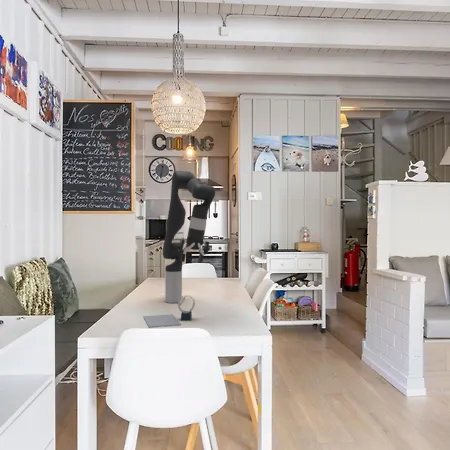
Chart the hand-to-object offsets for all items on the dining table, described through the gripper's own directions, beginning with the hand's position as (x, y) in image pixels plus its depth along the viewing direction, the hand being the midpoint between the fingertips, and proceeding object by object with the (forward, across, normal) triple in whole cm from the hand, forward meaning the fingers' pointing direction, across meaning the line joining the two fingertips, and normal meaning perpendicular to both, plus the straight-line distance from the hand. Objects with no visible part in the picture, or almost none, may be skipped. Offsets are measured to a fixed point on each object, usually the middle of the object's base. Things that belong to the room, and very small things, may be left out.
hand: (191, 262), depth 189 cm
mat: (+28, +10, 0) cm, 30 cm away
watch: (+27, -2, +2) cm, 27 cm away
